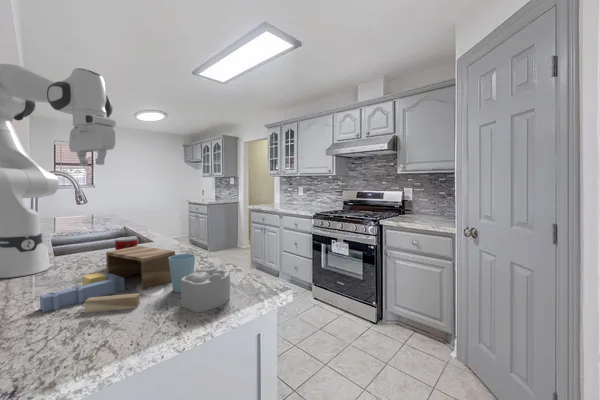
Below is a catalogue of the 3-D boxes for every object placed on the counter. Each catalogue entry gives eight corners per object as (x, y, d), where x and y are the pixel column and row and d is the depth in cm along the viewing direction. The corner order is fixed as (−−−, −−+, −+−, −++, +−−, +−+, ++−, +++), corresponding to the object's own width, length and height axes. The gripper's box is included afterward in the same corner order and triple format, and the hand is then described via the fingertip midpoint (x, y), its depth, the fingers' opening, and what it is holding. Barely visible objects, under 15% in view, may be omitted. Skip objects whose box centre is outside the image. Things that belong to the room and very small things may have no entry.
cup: (175, 285, 93) (174, 253, 93) (199, 285, 93) (198, 253, 93) (164, 294, 86) (163, 259, 85) (190, 294, 86) (189, 259, 85)
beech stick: (89, 309, 76) (89, 297, 75) (139, 304, 79) (139, 293, 78) (84, 313, 73) (84, 301, 73) (137, 308, 76) (136, 296, 76)
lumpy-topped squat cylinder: (176, 304, 78) (175, 273, 78) (216, 290, 89) (216, 263, 88) (198, 314, 72) (198, 280, 72) (238, 298, 82) (238, 268, 82)
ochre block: (82, 290, 90) (82, 275, 89) (99, 286, 93) (98, 272, 93) (89, 293, 86) (89, 279, 86) (106, 289, 90) (106, 275, 90)
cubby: (107, 280, 98) (106, 251, 98) (139, 272, 108) (138, 245, 108) (144, 290, 89) (143, 258, 88) (175, 279, 99) (175, 251, 99)
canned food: (128, 267, 115) (127, 240, 114) (111, 266, 116) (110, 239, 116) (142, 262, 122) (141, 237, 122) (126, 261, 124) (125, 236, 123)
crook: (32, 303, 79) (32, 290, 79) (110, 283, 95) (110, 273, 95) (45, 312, 73) (44, 298, 73) (126, 290, 89) (125, 278, 89)
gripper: (62, 123, 94) (63, 165, 94) (97, 115, 84) (98, 163, 85) (84, 127, 99) (85, 167, 100) (119, 120, 90) (120, 164, 90)
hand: (91, 165), depth 92 cm, fingers open, 8 cm apart
